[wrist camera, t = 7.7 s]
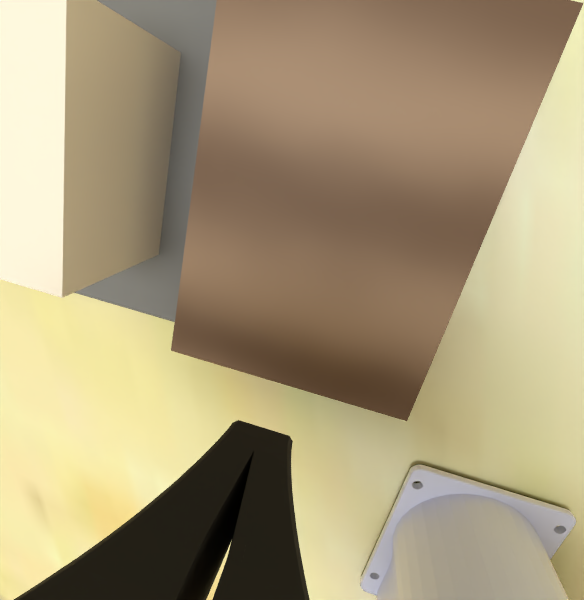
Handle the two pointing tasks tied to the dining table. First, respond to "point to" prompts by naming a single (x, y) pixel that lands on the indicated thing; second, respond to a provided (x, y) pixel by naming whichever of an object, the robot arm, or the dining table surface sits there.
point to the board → (353, 182)
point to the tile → (80, 142)
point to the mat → (185, 134)
